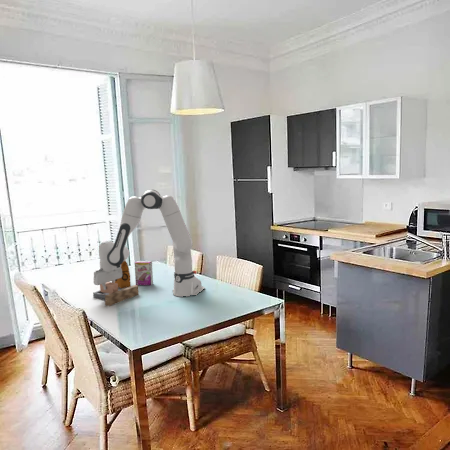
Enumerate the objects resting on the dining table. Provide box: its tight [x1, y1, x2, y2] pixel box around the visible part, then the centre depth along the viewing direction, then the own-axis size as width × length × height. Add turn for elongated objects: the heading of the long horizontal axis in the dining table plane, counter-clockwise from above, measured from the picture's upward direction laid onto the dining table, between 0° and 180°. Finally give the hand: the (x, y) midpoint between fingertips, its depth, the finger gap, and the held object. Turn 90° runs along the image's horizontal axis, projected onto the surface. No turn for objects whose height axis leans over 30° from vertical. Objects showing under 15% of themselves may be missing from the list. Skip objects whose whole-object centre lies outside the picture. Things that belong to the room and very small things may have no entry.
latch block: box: [99, 281, 119, 294], centre depth 244 cm, size 4×12×6 cm, turn 57°
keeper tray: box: [92, 289, 119, 301], centre depth 245 cm, size 11×17×3 cm, turn 57°
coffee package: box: [115, 259, 132, 290], centre depth 265 cm, size 10×12×22 cm
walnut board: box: [104, 284, 140, 307], centre depth 238 cm, size 24×3×6 cm, turn 147°
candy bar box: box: [134, 260, 154, 286], centre depth 268 cm, size 11×5×16 cm, turn 84°
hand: (109, 288), depth 244 cm, fingers closed on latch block, 4 cm apart
